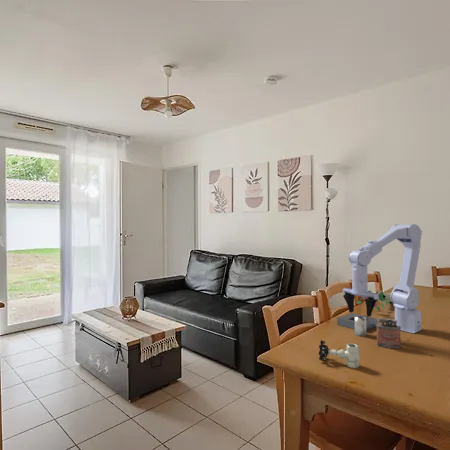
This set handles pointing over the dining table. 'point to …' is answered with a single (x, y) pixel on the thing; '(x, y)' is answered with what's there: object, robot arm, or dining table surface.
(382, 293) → the flower vase
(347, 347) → the valve
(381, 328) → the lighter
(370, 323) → the block
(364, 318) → the bushing
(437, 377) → the dining table surface
